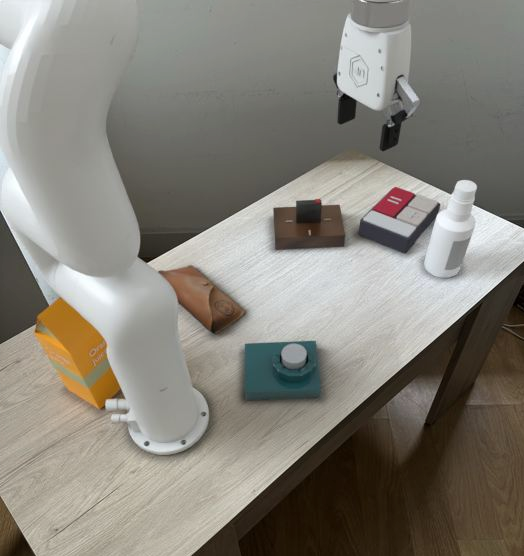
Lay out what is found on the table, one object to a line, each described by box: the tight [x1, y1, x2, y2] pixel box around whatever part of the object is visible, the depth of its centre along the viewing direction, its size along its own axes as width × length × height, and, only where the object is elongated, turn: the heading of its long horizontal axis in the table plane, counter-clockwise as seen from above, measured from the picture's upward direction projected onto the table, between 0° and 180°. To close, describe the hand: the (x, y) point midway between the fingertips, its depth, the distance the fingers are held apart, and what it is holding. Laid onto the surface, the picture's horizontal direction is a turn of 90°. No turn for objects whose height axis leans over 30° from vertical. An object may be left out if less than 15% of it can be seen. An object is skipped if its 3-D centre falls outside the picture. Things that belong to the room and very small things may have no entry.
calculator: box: [357, 186, 441, 254], centre depth 107 cm, size 11×4×15 cm
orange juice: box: [33, 296, 122, 410], centre depth 79 cm, size 8×9×20 cm
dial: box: [295, 198, 323, 223], centre depth 104 cm, size 5×1×5 cm, turn 91°
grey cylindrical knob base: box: [244, 340, 322, 401], centre depth 85 cm, size 12×10×4 cm
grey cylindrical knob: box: [281, 344, 307, 370], centre depth 83 cm, size 4×4×2 cm
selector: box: [272, 204, 346, 251], centre depth 107 cm, size 14×10×3 cm
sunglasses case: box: [157, 264, 246, 335], centre depth 96 cm, size 18×7×7 cm
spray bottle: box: [423, 179, 478, 279], centre depth 93 cm, size 7×7×18 cm
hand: (366, 133), depth 80 cm, fingers open, 9 cm apart
